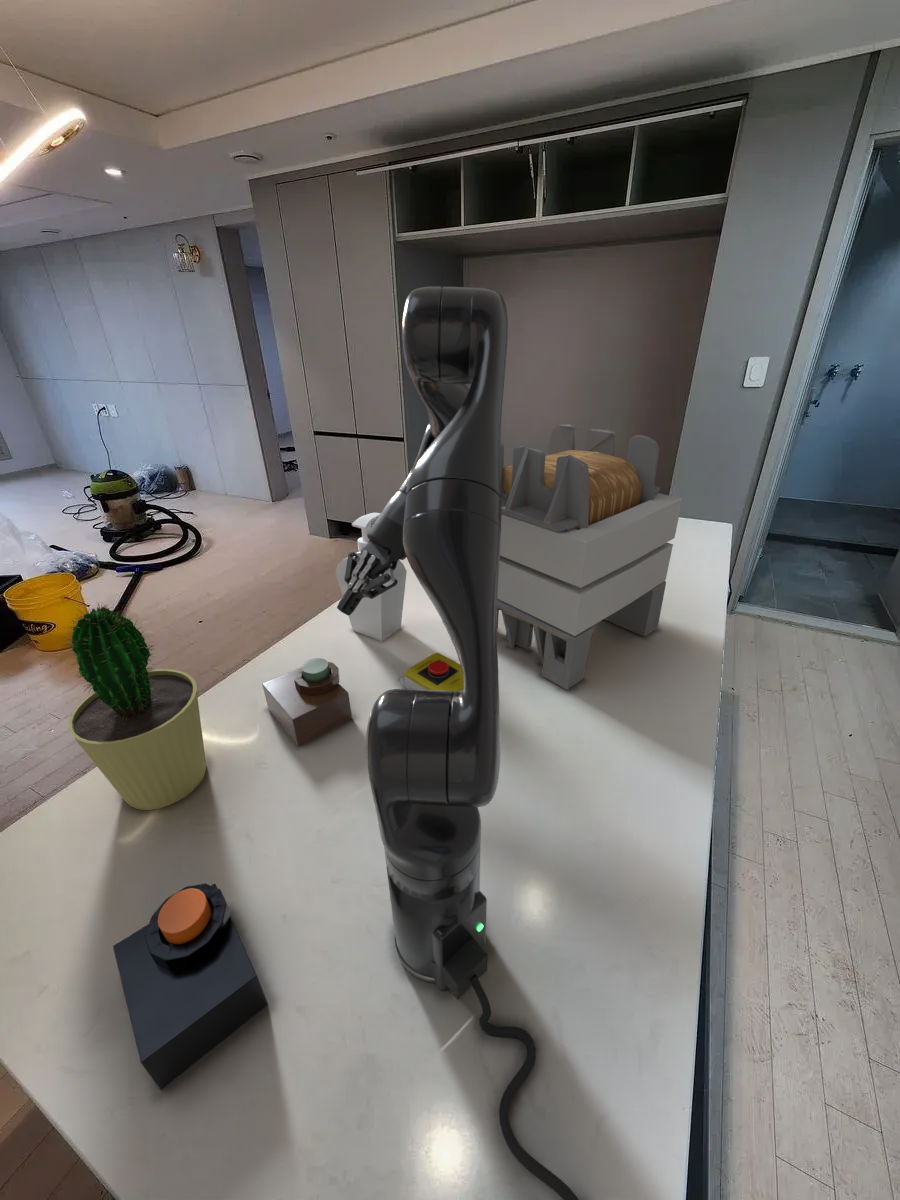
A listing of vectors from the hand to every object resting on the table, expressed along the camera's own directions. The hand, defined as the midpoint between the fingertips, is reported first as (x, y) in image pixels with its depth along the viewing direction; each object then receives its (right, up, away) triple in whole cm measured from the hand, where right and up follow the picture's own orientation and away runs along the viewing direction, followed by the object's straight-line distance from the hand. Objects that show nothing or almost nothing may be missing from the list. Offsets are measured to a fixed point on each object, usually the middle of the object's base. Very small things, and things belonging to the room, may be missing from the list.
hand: (342, 612), depth 84 cm
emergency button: (+17, -14, +10) cm, 24 cm away
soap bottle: (+2, -4, +29) cm, 30 cm away
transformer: (+40, -4, +29) cm, 50 cm away
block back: (-7, -18, +4) cm, 20 cm away
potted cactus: (-25, -25, -8) cm, 36 cm away
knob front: (-9, -30, -33) cm, 46 cm away
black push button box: (-8, -38, -32) cm, 50 cm away
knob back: (-5, -11, +2) cm, 12 cm away
